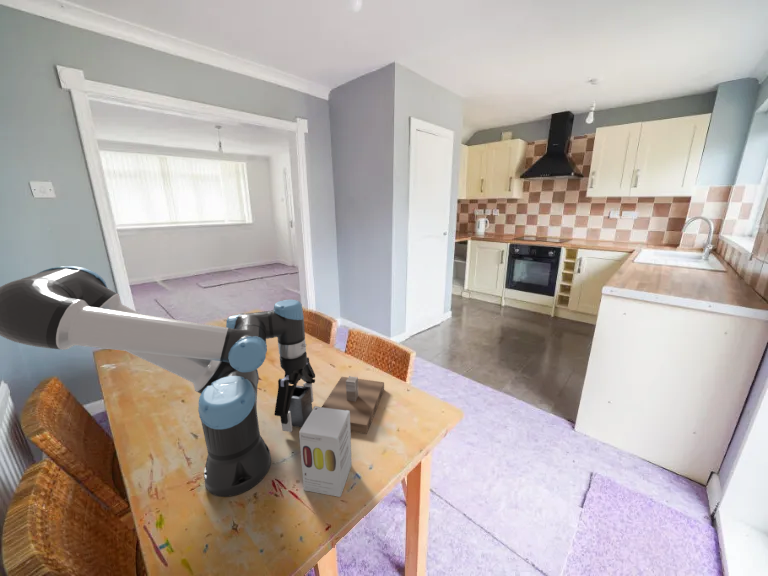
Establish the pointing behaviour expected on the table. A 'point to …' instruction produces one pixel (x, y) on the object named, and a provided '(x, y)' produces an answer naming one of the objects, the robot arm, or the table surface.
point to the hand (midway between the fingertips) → (299, 414)
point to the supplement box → (326, 450)
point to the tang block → (356, 400)
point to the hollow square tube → (300, 405)
